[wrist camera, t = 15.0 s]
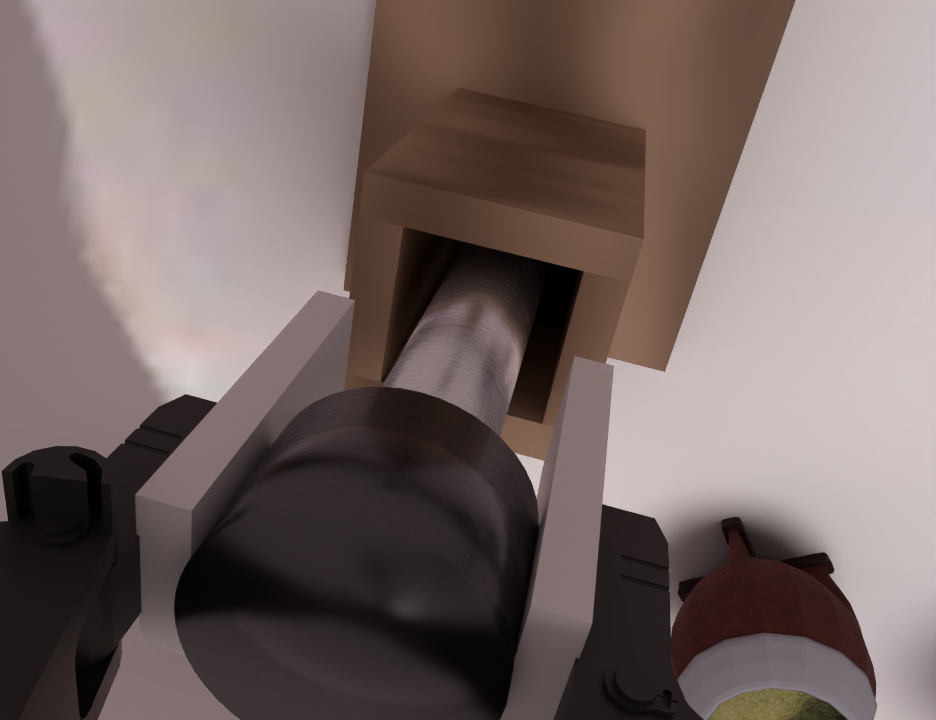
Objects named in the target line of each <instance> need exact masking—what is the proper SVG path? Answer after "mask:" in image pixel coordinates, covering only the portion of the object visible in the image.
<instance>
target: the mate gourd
mask: <svg viewBox="0 0 936 720" xmlns="http://www.w3.org/2000/svg"><path fill="white" fill-rule="evenodd" d="M721 523H722V529H723V533H724V536H725V539H726V541H727V544H728V546H729V561H728V562H726V563H725V564H723V565H721V566H720V567H718V568H717V569H715V570H714V571H713V572H711V573H710V574H708V575H707V576H705V577H700V578H695V579H690V580H686V581H683V582H680V583H679V590H678V595H679V597H680V599H681V600H682V601H683V602H684V603H683V605H682V607H681V609H680V610H679V612H678V614H677V617H676V619H675V622H674V625H673V627H672V634H671V663H672V671H673V676H674V677H675V678H676V680H677V681H678V683H679V686H680V688H681V690H682V692H683V694H684V697H685V700H686V701H687V703H688V704H689V706H690V707H691V708H692V709H693V710H694V711H695V712H696V713H697V714H698V715H699V716H700V717H701V718H703V719H704V720H874V716H875V713H876V709H877V703H876V700H875V696H876V680H875V674H874V668H873V664H872V662H871V659H870V656H869V653H868V650H867V648H866V645H865V642H864V639H863V636H862V632H861V629H860V626H859V623H858V620H857V618H856V616H855V613H854V611H853V609H852V606H851V604H850V603H849V601H848V600H847V598H846V597H845V595H844V594H843V593H842V591H841V590H840V589H839V587H838V586H837V585H836V584H835V582H834V581H833V580H832V578H831V577H830V575H829V574H831V573H833V572H834V568H833V565H832V562H831V561H830V559H829V557H828V555H827V554H826V553H818V554H812V555H807V556H802V557H797V558H792V559H787V560H782V561H777V560H769V559H762V558H757V557H756V555H755V553H754V550H753V548H752V545H751V543H750V540H749V538H748V535H747V533H746V530H745V528H744V525H743V523H742V521H741V519H740V518H738V517H733V518H729V519H724V520H723V521H722V522H721Z"/></svg>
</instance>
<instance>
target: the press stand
mask: <svg viewBox="0 0 936 720" xmlns="http://www.w3.org/2000/svg"><path fill="white" fill-rule="evenodd" d="M794 3H795V0H377V3H376V12H375V20H374V29H373V38H372V47H371V55H370V64H369V73H368V82H367V90H366V99H365V108H364V117H363V125H362V134H361V143H360V151H359V160H358V169H357V178H356V186H355V195H354V204H353V213H352V221H351V230H350V239H349V248H348V256H347V265H346V274H345V282H344V290H345V291H349V292H350V297H349V299H353V300H355V304H354V313H353V321H352V329H351V337H350V345H349V353H348V361H347V369H346V377H345V386H344V390H349V389H355V388H362V387H382V386H383V384H384V382H385V380H386V379H387V377H388V375H389V374H390V372H391V370H392V368H393V367H394V365H395V363H396V361H397V360H398V358H399V356H400V354H401V353H402V351H403V349H404V347H405V346H406V344H407V342H408V340H409V339H410V337H411V335H412V334H413V332H414V330H415V328H416V327H417V325H418V323H419V321H420V320H421V318H422V316H423V314H424V313H425V311H426V309H427V307H428V306H429V304H430V302H431V300H432V299H433V297H434V295H435V293H436V292H437V290H438V288H439V287H440V285H441V283H442V281H443V280H444V278H445V276H446V274H447V273H448V271H449V269H450V267H451V266H452V264H453V262H454V260H455V259H456V257H457V255H458V253H459V252H460V250H461V248H462V246H463V245H464V243H465V242H467V243H471V244H475V245H479V246H483V247H488V248H492V249H496V250H500V251H504V252H508V253H512V254H516V255H520V256H524V257H528V258H532V259H536V260H540V261H544V262H549V263H550V267H549V270H548V274H547V277H546V280H545V284H544V287H543V291H542V294H541V298H540V301H539V305H538V308H537V311H536V315H535V318H534V322H533V325H532V329H531V332H530V336H529V339H528V342H527V346H526V349H525V353H524V356H523V360H522V363H521V367H520V370H519V374H518V377H517V380H516V384H515V387H514V391H513V394H512V398H511V401H510V405H509V408H508V411H507V415H506V418H505V422H504V425H503V429H502V432H501V436H500V437H501V438H502V439H503V440H504V441H505V442H506V444H507V445H508V446H509V447H510V448H511V450H512V451H513V452H514V453H518V454H521V455H525V456H529V457H533V458H536V459H540V460H544V461H545V458H546V455H547V451H548V448H549V444H550V441H551V437H552V434H553V430H554V427H555V423H556V420H557V416H558V413H559V409H560V406H561V402H562V399H563V395H564V392H565V388H566V385H567V381H568V378H569V374H570V371H571V367H572V364H573V360H574V357H575V356H576V357H580V358H584V359H588V360H592V361H596V362H600V363H604V364H605V363H606V360H607V357H609V358H613V359H617V360H621V361H625V362H629V363H633V364H637V365H641V366H644V367H648V368H652V369H656V370H660V371H664V372H665V369H666V366H667V363H668V361H669V358H670V355H671V352H672V349H673V346H674V344H675V341H676V338H677V335H678V332H679V329H680V327H681V324H682V321H683V318H684V315H685V312H686V310H687V307H688V304H689V301H690V298H691V295H692V293H693V290H694V287H695V284H696V281H697V278H698V275H699V273H700V270H701V267H702V264H703V261H704V258H705V256H706V253H707V250H708V247H709V244H710V241H711V239H712V236H713V233H714V230H715V227H716V224H717V222H718V219H719V216H720V213H721V210H722V207H723V204H724V202H725V199H726V196H727V193H728V190H729V187H730V185H731V182H732V179H733V176H734V173H735V170H736V168H737V165H738V162H739V159H740V156H741V153H742V151H743V148H744V145H745V142H746V139H747V136H748V133H749V131H750V128H751V125H752V122H753V119H754V116H755V114H756V111H757V108H758V105H759V102H760V99H761V97H762V94H763V91H764V88H765V85H766V82H767V80H768V77H769V74H770V71H771V68H772V65H773V63H774V60H775V57H776V54H777V51H778V48H779V45H780V43H781V40H782V37H783V34H784V31H785V28H786V26H787V23H788V20H789V17H790V14H791V11H792V9H793V6H794Z"/></svg>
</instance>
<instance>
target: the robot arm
mask: <svg viewBox="0 0 936 720" xmlns="http://www.w3.org/2000/svg"><path fill="white" fill-rule="evenodd" d="M354 304H355V300H353V299H349V298H345V297H341V296H337V295H333V294H329V293H325V292H321V291H317V292H316V293H315V295H314V296H313V297H312V298H311V299H310V300H309V301H308V302H307V303H306V305H305V306H304V307H303V308H302V309H301V310H300V311H299V312H298V314H297V315H296V316H295V317H294V318H293V319H292V320H291V321H290V322H289V324H288V325H287V326H286V327H285V328H284V329H283V330H282V331H281V333H280V334H279V335H278V336H277V337H276V338H275V339H274V340H273V341H272V343H271V344H270V345H269V346H268V347H267V348H266V349H265V350H264V351H263V353H262V354H261V355H260V356H259V357H258V358H257V359H256V360H255V362H254V363H253V364H252V365H251V366H250V367H249V368H248V369H247V370H246V372H245V373H244V374H243V375H242V376H241V377H240V378H239V379H238V381H237V382H236V383H235V384H234V385H233V386H232V387H231V388H230V389H229V391H228V392H227V393H226V394H225V395H224V396H223V397H222V398H221V399H220V401H219V402H218V403H216V402H213V401H209V400H205V399H201V398H198V397H194V396H190V395H187V394H185V395H183V396H181V397H179V398H177V399H175V400H172V401H170V402H168V403H166V404H164V405H162V406H159V407H158V408H157V409H156V410H155V411H154V412H153V413H152V414H151V415H150V416H149V417H148V418H147V419H146V420H145V421H144V422H143V423H142V424H141V425H140V428H139V429H136V430H135V431H134V432H133V433H132V434H131V435H130V436H129V437H128V438H127V439H126V440H125V443H124V444H120V446H119V447H117V449H115V451H114V452H112V453H111V454H110V455H109V456H108V458H105V457H103V456H102V455H100V454H99V453H97V452H96V451H92V450H89V449H85V448H81V447H77V446H54V447H50V448H45V449H40V450H35V451H32V452H30V453H28V454H26V455H24V456H21V457H19V458H17V459H15V460H14V461H13V462H11V464H9V465H8V466H7V467H6V468H5V469H4V470H2V477H3V485H4V492H5V500H6V507H7V515H8V521H4V522H0V720H98V717H99V715H100V713H101V710H102V708H103V705H104V703H105V700H106V698H107V696H108V693H109V691H110V688H111V686H112V683H113V681H114V678H115V676H116V674H117V671H118V669H119V667H120V661H121V655H122V638H123V636H124V635H125V633H126V632H127V631H128V629H129V628H130V627H131V625H132V624H133V623H134V621H135V620H136V618H137V617H138V616H139V628H140V629H139V631H140V642H142V643H146V644H149V645H152V646H156V647H159V648H163V649H166V650H170V651H173V652H176V653H179V654H183V655H185V653H184V650H183V648H182V645H181V643H180V640H179V637H178V633H177V629H176V625H175V614H174V602H175V592H176V588H177V585H178V581H179V578H180V576H181V574H182V572H183V570H184V568H185V566H186V564H187V563H188V561H189V560H190V559H191V557H192V556H193V554H194V553H195V552H196V550H197V549H198V547H199V546H200V545H201V543H202V542H203V540H204V539H205V538H206V536H207V535H208V534H209V532H210V531H211V529H212V528H213V527H214V525H215V524H216V522H217V521H218V520H219V518H220V517H221V515H222V514H223V513H224V511H225V510H226V508H227V507H228V506H229V504H230V503H231V502H232V500H233V499H234V497H235V496H236V495H237V493H238V492H239V490H240V489H241V488H242V486H243V485H244V483H245V482H246V481H247V479H248V478H249V477H250V475H251V474H252V472H253V471H254V470H255V468H256V467H257V465H258V464H259V463H260V461H261V460H262V458H263V457H264V456H265V454H266V453H267V452H268V450H269V449H270V447H271V446H272V445H273V443H274V442H275V440H276V439H277V438H278V436H279V435H280V433H281V432H282V431H283V430H284V428H285V427H286V426H287V424H288V423H289V422H290V421H291V420H292V419H293V418H294V417H295V416H296V415H297V414H298V413H299V412H300V411H301V410H303V409H304V408H306V407H307V406H309V405H311V404H312V403H314V402H315V401H317V400H320V399H322V398H324V397H326V396H328V395H331V394H334V393H338V392H341V391H344V386H345V377H346V369H347V361H348V353H349V345H350V337H351V329H352V321H353V313H354ZM613 368H614V366H612V365H608V364H604V363H600V362H596V361H592V360H588V359H584V358H580V357H576V356H575V357H574V360H573V364H572V367H571V371H570V374H569V378H568V381H567V385H566V388H565V392H564V395H563V399H562V402H561V406H560V409H559V413H558V416H557V420H556V423H555V427H554V430H553V434H552V437H551V441H550V444H549V448H548V451H547V455H546V458H545V462H544V466H543V469H542V474H541V479H540V485H539V490H538V495H537V504H538V512H539V528H538V534H537V539H536V545H535V550H534V555H533V561H532V566H531V572H530V577H529V583H528V588H527V593H526V599H525V604H524V610H523V615H522V621H521V626H520V631H519V637H518V642H517V648H516V653H515V659H514V668H513V674H512V679H511V685H510V690H509V695H508V700H507V705H506V707H505V710H504V712H503V714H502V717H501V719H500V720H704V719H703V718H701V717H700V716H699V715H698V714H697V713H696V712H695V711H694V710H693V709H692V708H691V707H690V706H689V704H688V703H687V701H686V700H685V697H684V694H683V692H682V690H681V688H680V686H679V683H678V681H677V680H676V678H675V677H674V676H673V671H672V663H671V627H670V593H669V592H668V591H669V572H668V569H669V555H668V542H667V540H666V538H665V536H664V535H663V533H662V531H661V529H660V527H659V525H658V523H657V522H656V520H655V518H651V517H647V516H644V515H640V514H636V513H632V512H629V511H625V510H621V509H618V508H614V507H610V506H606V505H603V504H602V500H603V488H604V476H605V464H606V452H607V440H608V428H609V416H610V404H611V392H612V380H613Z"/></svg>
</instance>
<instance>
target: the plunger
mask: <svg viewBox="0 0 936 720" xmlns="http://www.w3.org/2000/svg"><path fill="white" fill-rule="evenodd" d="M549 267H550V263H549V262H544V261H540V260H536V259H532V258H528V257H524V256H520V255H516V254H512V253H508V252H504V251H500V250H496V249H492V248H488V247H483V246H479V245H475V244H471V243H467V242H465V243H464V245H463V246H462V248H461V250H460V252H459V253H458V255H457V257H456V259H455V260H454V262H453V264H452V266H451V267H450V269H449V271H448V273H447V274H446V276H445V278H444V280H443V281H442V283H441V285H440V287H439V288H438V290H437V292H436V293H435V295H434V297H433V299H432V300H431V302H430V304H429V306H428V307H427V309H426V311H425V313H424V314H423V316H422V318H421V320H420V321H419V323H418V325H417V327H416V328H415V330H414V332H413V334H412V335H411V337H410V339H409V340H408V342H407V344H406V346H405V347H404V349H403V351H402V353H401V354H400V356H399V358H398V360H397V361H396V363H395V365H394V367H393V368H392V370H391V372H390V374H389V375H388V377H387V379H386V380H385V382H384V384H383V386H382V387H362V388H355V389H349V390H344V391H341V392H338V393H334V394H331V395H328V396H326V397H324V398H322V399H320V400H317V401H315V402H314V403H312V404H311V405H309V406H307V407H306V408H304V409H303V410H301V411H300V412H299V413H298V414H297V415H296V416H295V417H294V418H293V419H292V420H291V421H290V422H289V423H288V424H287V426H286V427H285V428H284V430H283V431H282V432H281V433H280V435H279V436H278V438H277V439H276V440H275V442H274V443H273V445H272V446H271V447H270V449H269V450H268V452H267V453H266V454H265V456H264V457H263V458H262V460H261V461H260V463H259V464H258V465H257V467H256V468H255V470H254V471H253V472H252V474H251V475H250V477H249V478H248V479H247V481H246V482H245V483H244V485H243V486H242V488H241V489H240V490H239V492H238V493H237V495H236V496H235V497H234V499H233V500H232V502H231V503H230V504H229V506H228V507H227V508H226V510H225V511H224V513H223V514H222V515H221V517H220V518H219V520H218V521H217V522H216V524H215V525H214V527H213V528H212V529H211V531H210V532H209V534H208V535H207V536H206V538H205V539H204V540H203V542H202V543H201V545H200V546H199V547H198V549H197V550H196V552H195V553H194V554H193V556H192V557H191V559H190V560H189V561H188V563H187V564H186V566H185V568H184V570H183V572H182V574H181V576H180V578H179V581H178V585H177V588H176V592H175V602H174V614H175V625H176V629H177V633H178V637H179V640H180V643H181V645H182V648H183V650H184V653H185V655H186V657H187V659H188V660H189V662H190V664H191V666H192V668H193V669H194V671H195V673H196V674H197V675H198V677H199V678H200V679H201V681H202V682H203V684H204V685H205V686H206V687H207V688H208V690H209V691H210V692H211V693H212V694H213V695H214V696H215V697H216V698H217V700H218V701H219V702H221V703H222V704H223V705H224V706H225V707H226V708H227V709H228V710H229V711H230V712H231V713H233V714H234V715H235V716H236V717H238V718H239V719H240V720H500V719H501V717H502V714H503V712H504V710H505V707H506V705H507V700H508V695H509V690H510V685H511V679H512V674H513V668H514V659H515V653H516V648H517V642H518V637H519V631H520V626H521V621H522V615H523V610H524V604H525V599H526V593H527V588H528V583H529V577H530V572H531V566H532V561H533V555H534V550H535V545H536V539H537V534H538V528H539V512H538V504H537V499H536V496H535V492H534V489H533V485H532V483H531V481H530V479H529V477H528V474H527V472H526V470H525V468H524V467H523V465H522V464H521V462H520V461H519V459H518V457H517V456H516V455H515V453H514V452H513V451H512V450H511V448H510V447H509V446H508V445H507V444H506V442H505V441H504V440H503V439H502V438H501V437H500V436H501V432H502V429H503V425H504V422H505V418H506V415H507V411H508V408H509V405H510V401H511V398H512V394H513V391H514V387H515V384H516V380H517V377H518V374H519V370H520V367H521V363H522V360H523V356H524V353H525V349H526V346H527V342H528V339H529V336H530V332H531V329H532V325H533V322H534V318H535V315H536V311H537V308H538V305H539V301H540V298H541V294H542V291H543V287H544V284H545V280H546V277H547V274H548V270H549Z"/></svg>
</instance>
